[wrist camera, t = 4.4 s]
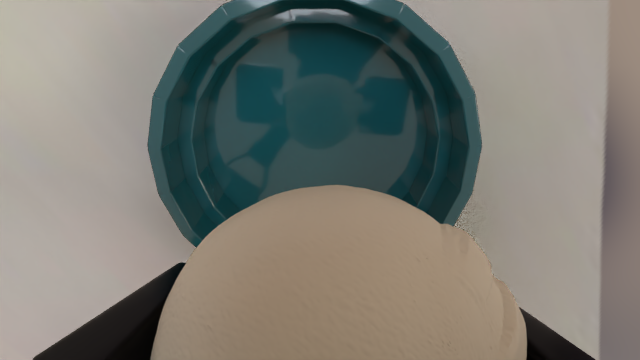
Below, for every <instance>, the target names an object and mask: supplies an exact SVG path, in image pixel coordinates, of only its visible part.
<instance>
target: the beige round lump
mask: <svg viewBox="0 0 640 360" xmlns="http://www.w3.org/2000/svg"><path fill="white" fill-rule="evenodd" d="M526 357H527V334H526V325H525V321H524V318H523V315H522V313H521V311H520V309H519V307H518V305H517V303H516V301H515V299H514V297H513V295H512V293H511V292H510V290H509V289H508V287H507V285H506V284H505V283H504V282H502V281H500V280H497V279H496V278H495V277H494V276H493V275H492V273H491V265H490V262H489V260H488V258H487V257H486V255H485V254H484V252H483V251H482V250H481V249H480V247H479V246H478V245H477V244H476V242H475V241H474V240H473V239H472V238H471V236H470V235H469V234H468V233H467V232H466V231H464V230H461V229H459V228H456V227H453V226H451V225H449V224H439V222H437V221H436V220H435V219H434V218H432V217H431V216H429V215H428V214H426V213H425V212H423V211H422V210H420V209H417V208H416V207H414V206H412V205H411V204H408V203H407V202H405V201H403V200H401V199H398V198H396V197H394V196H391V195H388V194H385V193H381V192H378V191H373V190H369V189H366V188H358V187H352V186H346V185H325V186H318V187H307V188H299V189H294V190H290V191H286V192H282V193H279V194H275V195H273V196H270V197H268V198H265V199H263V200H261V201H259V202H258V203H256V204H253V205H251V206H249V207H248V208H246V209H243V210H242V211H240V212H238V213H236V214H235V215H233V216H231V217H230V218H229V219H227V220H226V221H224V222H223V223H222V224H220V225H218V226H217V228H215V229H214V230H212V232H211V233H209V234H208V235H207V236H206V237H205V239H204V240H203V241H202V242H201V243H200V244H199V245H198V246H197V248H196V249H195V250H194V251H193V253H192V255H191V256H190V258H189V259H188V261H187V262H186V264H185V266H184V267H183V269H182V271H181V272H180V274H179V275H178V278H177V279H176V281H175V283H174V285H173V287H172V289H171V291H170V293H169V295H168V297H167V299H166V302H165V304H164V307H163V310H162V313H161V317H160V320H159V324H158V328H157V332H156V336H155V339H154V343H153V348H152V352H151V357H150V360H526Z"/></svg>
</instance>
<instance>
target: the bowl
mask: <svg viewBox="0 0 640 360" xmlns="http://www.w3.org/2000/svg"><path fill="white" fill-rule="evenodd" d="M474 93H475V91H474V89H473V87H472V86H471V84H470V82H469V80H468V78H467V76H466V74H465V72H464V70H463V68H462V66H461V64H460V63H459V61H458V59H457V57H456V55H455V53H454V51H453V49H452V47H451V45H450V44H449V42H448V41H446V40H445V39H444V38H443V37H442V36H441V35H440V34H439V33H437V32H436V31H435V30H434V29H433V28H432V27H431V26H430V25H428V24H427V23H426V22H425V21H424V20H423V19H422V18H421V17H419V16H418V15H417V14H416V13H415V12H414V11H413V10H412V9H410V8H409V7H408V6H407V5H406V4H404V3H402V2H399V1H397V0H232V1H230V2H227V3H225V4H223V6H220V7H219V8H218V9H217V10H215V11H214V12H213V13H212V14H211V15H210V16H209V17H208V18H207V19H206V20H205V21H204V22H202V23H201V24H200V25H199V26H198V27H197V28H196V29H195V30H194V31H193V32H192V33H190V34H189V35H188V36H187V37H186V38H185V39H184V40H183V41H182V42H181V43H180V44H179V46H177V48H176V50H175V52H174V54H173V56H172V58H171V60H170V62H169V64H168V66H167V68H166V70H165V72H164V74H163V76H162V78H161V80H160V82H159V84H158V86H157V88H156V90H155V92H154V96H153V98H152V108H151V117H150V127H149V136H148V152H149V156H150V160H151V165H152V169H153V173H154V178H155V182H156V186H157V190H158V194H159V196H160V198H161V200H162V201H163V203H164V205H165V206H166V208H167V210H168V211H169V213H170V215H171V216H172V218H173V220H174V222H175V223H176V225H177V227H178V228H179V230H180V232H181V233H182V234H183V236H184V237H185V238H186V239H187V240H188V241H190V242H191V243H192V244H193V245H194V246H195V247H196V248H197V246H198V245H199V244H200V243H201V242H202V241H203V240H204V239H205V237H206V236H207V235H208V234H209V233H211V232H212V230H214V229H215V228H217V226H218V225H220V224H222V223H223V222H224V221H226V220H227V219H229V218H230V217H231V216H233V215H235V214H236V213H238V212H240V211H242V210H243V209H246V208H248V207H249V206H251V205H253V204H256V203H258V202H259V201H261V200H263V199H265V198H268V197H270V196H273V195H275V194H279V193H282V192H286V191H290V190H294V189H299V188H307V187H318V186H325V185H346V186H352V187H358V188H366V189H369V190H373V191H378V192H381V193H385V194H388V195H391V196H394V197H396V198H398V199H401V200H403V201H405V202H407V203H408V204H411V205H412V206H414V207H416V208H417V209H420V210H422V211H423V212H425V213H426V214H428V215H429V216H431V217H432V218H434V219H435V220H436V221H437V222H439V224H449V225H451V226H454V224H455V223H456V221H457V219H458V217H459V216H460V214H461V212H462V210H463V209H464V207H465V205H466V203H467V202H468V200H469V198H470V196H471V194H472V191H473V187H474V182H475V177H476V172H477V168H478V163H479V158H480V153H481V148H482V140H481V132H480V124H479V117H478V109H477V101H476V95H475V94H474Z"/></svg>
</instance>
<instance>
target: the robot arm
mask: <svg viewBox="0 0 640 360" xmlns="http://www.w3.org/2000/svg"><path fill="white" fill-rule="evenodd" d="M185 264H186V263H178V264H176V265H175V266H173V267H172V268H170V269H169V270H167V271H166V272H164V273H163V274H161V275H159V276H158V277H156V278H155V279H153V280H152V281H150V282H149V283H147V284H146V285H144V286H143V287H141V288H140V289H138V290H137V291H135V292H133V293H132V294H130V295H129V296H127V297H126V298H124V299H123V300H121V301H120V302H118V303H117V304H115V305H114V306H112V307H110V308H109V309H107V310H106V311H104V312H103V313H101V314H100V315H98V316H97V317H95V318H94V319H92V320H91V321H89V322H87V323H86V324H84V325H83V326H81V327H80V328H78V329H77V330H75V331H74V332H72V333H71V334H69V335H68V336H66V337H65V338H63V339H61V340H60V341H58V342H57V343H55V344H54V345H52V346H51V347H49V348H48V349H46V350H45V351H43V352H42V353H40V354H38V355H37V356H35V357H34V358H33V360H150V357H151V352H152V348H153V343H154V339H155V336H156V332H157V328H158V324H159V320H160V317H161V313H162V310H163V307H164V304H165V302H166V299H167V297H168V295H169V293H170V291H171V289H172V287H173V285H174V283H175V281H176V279H177V278H178V275H179V274H180V272H181V271H182V269H183V267H184V266H185ZM519 309H520V311H521V313H522V315H523V318H524V321H525V325H526V334H527V357H526V360H595V359H594V358H592V357H591V356H589V355H588V354H586V353H585V352H584V351H582V350H581V349H579V348H578V347H576V346H575V345H573V344H572V343H571V342H569V341H568V340H566V339H565V338H563V337H562V336H560V335H559V334H558V333H556V332H555V331H553V330H552V329H550V328H549V327H547V326H546V325H545V324H543V323H542V322H540V321H539V320H537V319H536V318H534V317H533V316H531V315H530V314H529V313H527V312H526V311H524V310H523V309H521V308H520V307H519Z"/></svg>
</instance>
